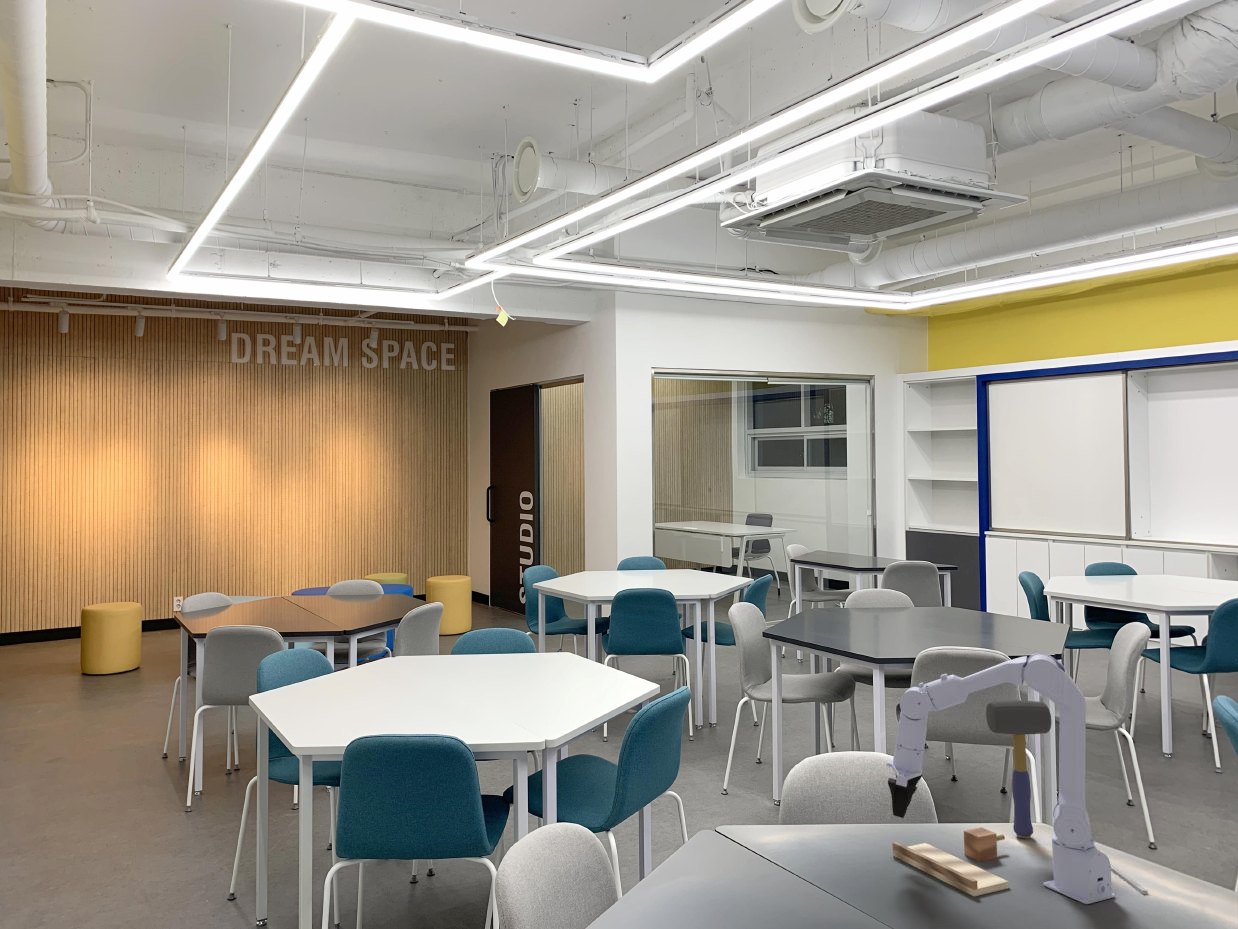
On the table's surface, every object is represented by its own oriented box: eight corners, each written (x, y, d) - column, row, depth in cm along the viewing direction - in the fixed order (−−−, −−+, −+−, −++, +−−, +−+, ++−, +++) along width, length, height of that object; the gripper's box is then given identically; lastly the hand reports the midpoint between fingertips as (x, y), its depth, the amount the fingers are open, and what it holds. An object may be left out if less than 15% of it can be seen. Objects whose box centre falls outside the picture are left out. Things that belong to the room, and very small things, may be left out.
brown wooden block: (1011, 854, 180) (1010, 830, 180) (979, 861, 176) (978, 837, 176) (995, 848, 183) (995, 824, 184) (964, 855, 180) (963, 830, 180)
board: (1009, 888, 163) (1008, 873, 163) (973, 896, 160) (973, 881, 160) (925, 848, 183) (925, 835, 183) (892, 855, 180) (892, 842, 180)
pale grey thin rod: (1106, 869, 172) (1106, 864, 172) (1112, 869, 172) (1112, 864, 172) (1141, 895, 160) (1141, 890, 160) (1147, 896, 160) (1147, 890, 160)
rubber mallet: (1001, 842, 186) (995, 703, 188) (988, 830, 194) (983, 697, 196) (1059, 843, 185) (1053, 704, 187) (1045, 831, 193) (1039, 697, 195)
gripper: (894, 733, 185) (886, 794, 185) (884, 749, 172) (875, 815, 172) (928, 741, 182) (920, 804, 182) (921, 758, 169) (912, 826, 169)
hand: (901, 810), depth 177 cm, fingers open, 7 cm apart
